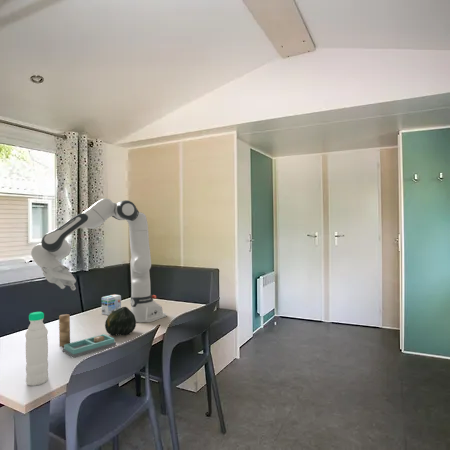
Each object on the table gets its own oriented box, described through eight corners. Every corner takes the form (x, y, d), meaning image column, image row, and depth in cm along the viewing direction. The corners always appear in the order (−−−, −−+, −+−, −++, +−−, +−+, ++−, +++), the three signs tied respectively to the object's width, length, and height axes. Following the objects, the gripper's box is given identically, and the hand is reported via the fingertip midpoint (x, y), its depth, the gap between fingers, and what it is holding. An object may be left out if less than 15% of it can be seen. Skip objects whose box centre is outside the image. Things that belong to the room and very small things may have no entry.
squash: (100, 321, 176) (107, 303, 169) (127, 317, 185) (135, 300, 178) (106, 345, 168) (113, 327, 160) (135, 340, 177) (143, 323, 169)
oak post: (67, 342, 161) (67, 313, 161) (71, 344, 158) (71, 315, 158) (58, 345, 158) (57, 315, 158) (61, 347, 155) (61, 317, 155)
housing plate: (104, 339, 165) (104, 332, 165) (116, 344, 157) (115, 337, 157) (62, 351, 150) (62, 343, 150) (73, 357, 142) (72, 349, 142)
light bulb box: (108, 315, 209) (107, 298, 209) (101, 314, 213) (100, 297, 213) (121, 311, 218) (121, 295, 218) (114, 310, 222) (114, 294, 222)
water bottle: (52, 379, 123) (51, 311, 123) (36, 387, 116) (35, 316, 116) (38, 376, 125) (37, 309, 125) (21, 385, 119) (20, 314, 119)
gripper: (45, 262, 162) (61, 282, 158) (69, 268, 182) (84, 285, 178) (35, 271, 162) (51, 291, 158) (60, 276, 181) (75, 294, 177)
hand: (69, 288), depth 168 cm, fingers open, 8 cm apart
